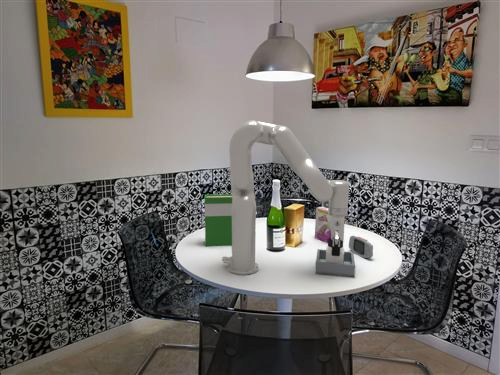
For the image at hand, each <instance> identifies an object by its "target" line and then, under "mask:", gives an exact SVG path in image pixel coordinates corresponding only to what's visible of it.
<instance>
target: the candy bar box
mask: <svg viewBox="0 0 500 375" xmlns="http://www.w3.org/2000/svg"><path fill="white" fill-rule="evenodd" d="M314 230H315V231H314V239H317V240H319V241H322V242H324V243H327V244H328V239H329V238H330V237H331V216H330V215H328V207H325V206H317V207H316V208H315V228H314Z"/></svg>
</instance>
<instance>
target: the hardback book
mask: <svg viewBox="0 0 500 375" xmlns="http://www.w3.org/2000/svg"><path fill="white" fill-rule="evenodd" d="M204 236H205V237H204V238H205V239H204V240H205V241H204V242H205V247H232V193H223V194H220V193H219V194H217V193H216V194H211V193H210V194H204Z"/></svg>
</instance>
